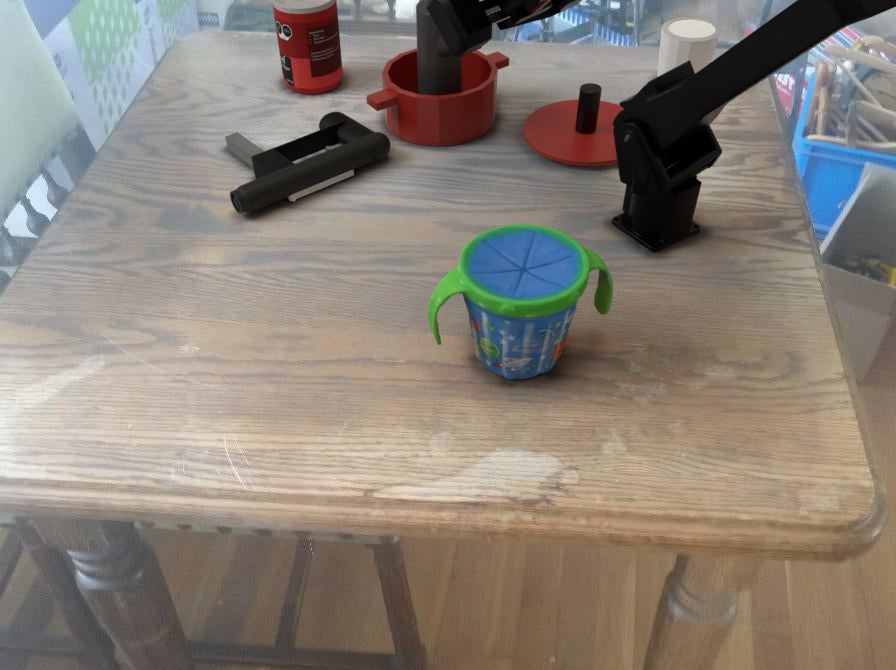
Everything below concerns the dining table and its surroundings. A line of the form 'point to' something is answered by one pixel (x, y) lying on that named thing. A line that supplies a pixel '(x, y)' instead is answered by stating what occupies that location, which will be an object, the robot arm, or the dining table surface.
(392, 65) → the pot
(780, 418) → the dining table surface
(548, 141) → the lid
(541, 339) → the snack cup
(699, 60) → the off-white short cylinder
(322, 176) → the door handle
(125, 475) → the dining table surface
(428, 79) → the pepper mill
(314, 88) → the red can
